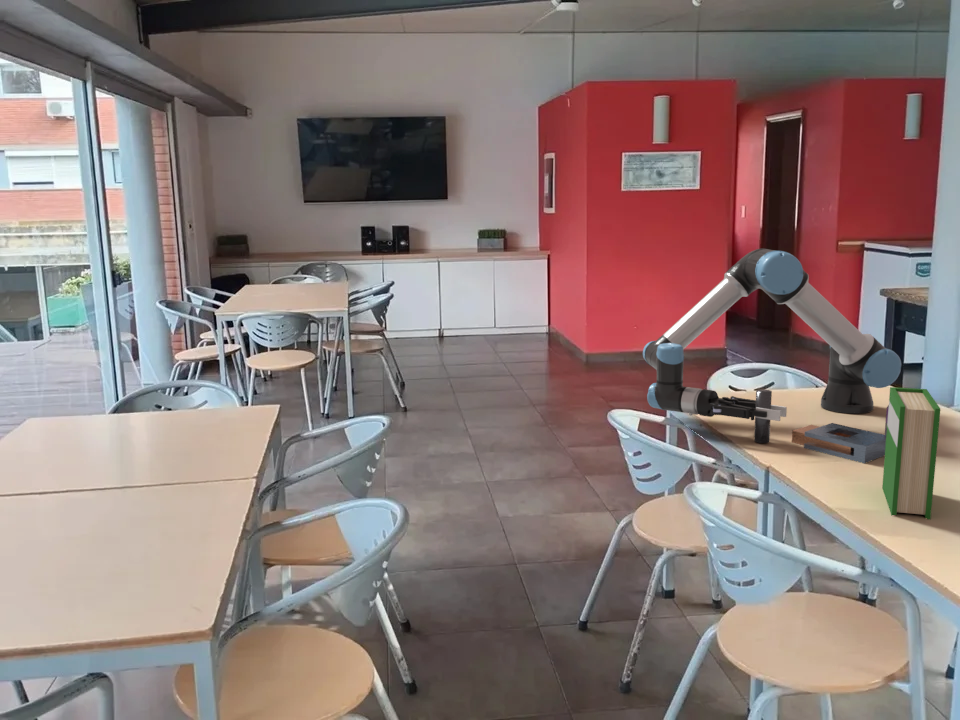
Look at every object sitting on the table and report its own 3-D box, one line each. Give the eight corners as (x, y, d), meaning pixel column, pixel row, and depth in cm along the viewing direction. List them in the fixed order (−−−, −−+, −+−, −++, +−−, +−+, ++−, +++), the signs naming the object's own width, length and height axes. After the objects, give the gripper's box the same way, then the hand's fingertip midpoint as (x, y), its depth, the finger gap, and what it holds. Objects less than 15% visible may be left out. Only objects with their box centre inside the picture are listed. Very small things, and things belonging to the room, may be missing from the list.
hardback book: (930, 519, 178) (940, 408, 173) (891, 515, 181) (900, 406, 176) (917, 490, 194) (926, 389, 190) (882, 487, 197) (890, 387, 192)
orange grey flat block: (787, 443, 231) (788, 427, 230) (814, 434, 239) (815, 419, 238) (864, 463, 214) (865, 446, 213) (891, 453, 221) (892, 436, 220)
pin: (759, 437, 235) (762, 388, 232) (772, 441, 232) (774, 391, 229) (751, 440, 233) (753, 391, 230) (763, 443, 230) (765, 393, 227)
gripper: (712, 408, 249) (793, 420, 235) (687, 421, 236) (771, 435, 222) (713, 383, 247) (794, 393, 233) (688, 395, 234) (772, 407, 220)
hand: (782, 413), depth 227 cm, fingers closed on pin, 4 cm apart
